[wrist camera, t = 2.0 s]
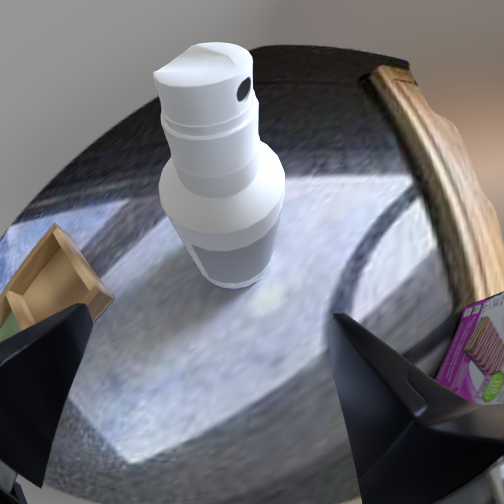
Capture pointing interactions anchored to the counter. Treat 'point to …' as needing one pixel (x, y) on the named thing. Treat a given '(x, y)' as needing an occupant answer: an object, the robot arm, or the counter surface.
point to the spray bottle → (219, 164)
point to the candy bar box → (477, 353)
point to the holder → (50, 284)
